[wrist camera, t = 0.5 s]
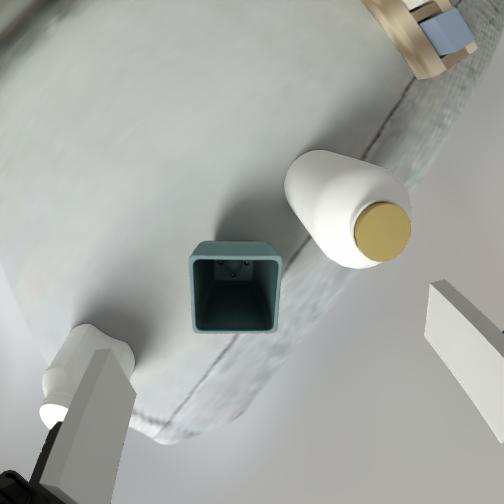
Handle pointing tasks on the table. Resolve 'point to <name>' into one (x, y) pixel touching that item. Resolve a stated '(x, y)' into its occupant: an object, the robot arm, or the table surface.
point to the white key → (413, 3)
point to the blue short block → (447, 32)
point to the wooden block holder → (415, 35)
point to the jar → (77, 369)
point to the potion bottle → (349, 207)
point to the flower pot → (235, 287)
